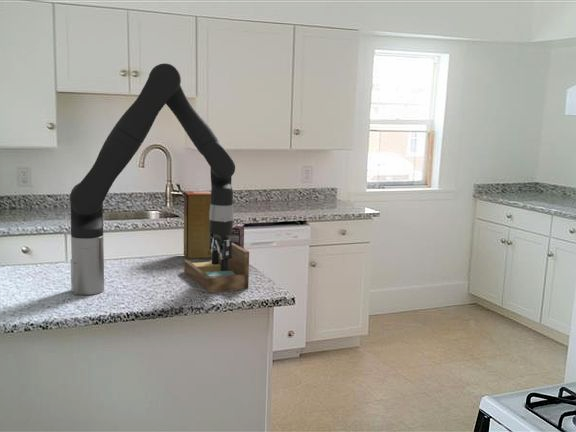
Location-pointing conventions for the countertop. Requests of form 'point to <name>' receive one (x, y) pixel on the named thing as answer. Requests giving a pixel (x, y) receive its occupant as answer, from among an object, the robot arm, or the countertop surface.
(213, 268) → the ochre book block
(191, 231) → the food packaging
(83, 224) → the robot arm
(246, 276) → the book rack
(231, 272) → the book block
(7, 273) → the countertop surface
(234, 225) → the supplement box
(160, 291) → the countertop surface
